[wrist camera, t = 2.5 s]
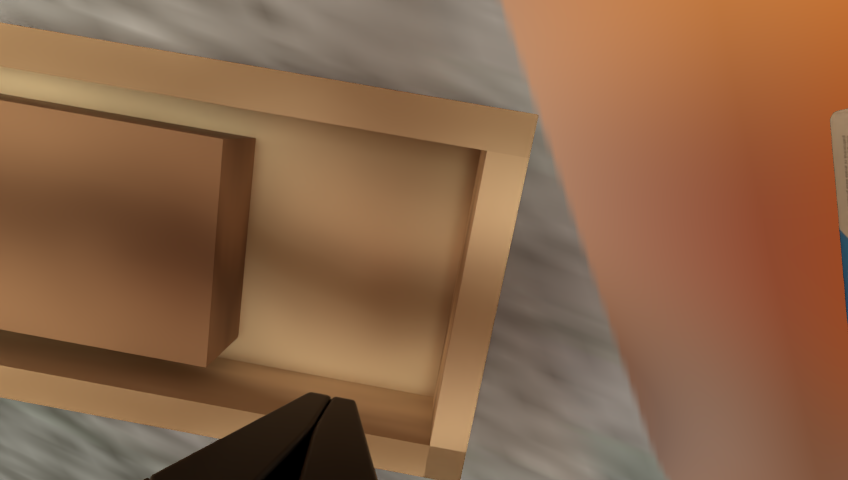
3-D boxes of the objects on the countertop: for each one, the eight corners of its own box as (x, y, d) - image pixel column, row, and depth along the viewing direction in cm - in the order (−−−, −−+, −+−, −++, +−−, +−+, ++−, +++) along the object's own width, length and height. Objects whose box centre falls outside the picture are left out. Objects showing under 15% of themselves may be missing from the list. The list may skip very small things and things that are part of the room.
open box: (458, 415, 20) (459, 483, 16) (-58, 319, 21) (-178, 363, 17) (519, 118, 17) (538, 114, 14) (-76, 16, 18) (-223, -16, 14)
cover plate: (238, 336, 19) (205, 367, 16) (-63, 281, 19) (-138, 303, 17) (255, 137, 17) (222, 139, 15) (-75, 80, 17) (-160, 71, 15)
